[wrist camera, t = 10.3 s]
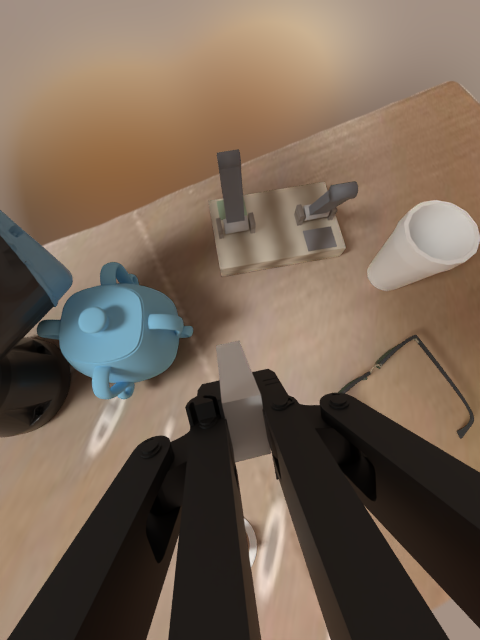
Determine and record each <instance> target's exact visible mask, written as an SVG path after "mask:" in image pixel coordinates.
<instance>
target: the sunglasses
mask: <svg viewBox="0 0 480 640" xmlns="http://www.w3.org/2000/svg"><path fill="white" fill-rule="evenodd" d="M415 338H416V339H415ZM411 340H414V341H415V340H416V342H417V343H418V344H419V345H420V347H421V348H422V349H423V350H424V352H425V353H426V354H427V355H428V356H429V358H430V359H431V360H432V362H433V363H434V364H435V365H436V367H437V368H438V369H439V370H440V372H441V373H442V374H443V376H444V377H445V378H446V379H447V381H448V382H449V383H450V385H451V386H452V387H453V389H454V390H455V391H456V393H457V394H458V395H459V397H460V398H461V400H462V401H463V403H464V404H465V406H466V407H467V409H468V411H469V413H470V421H469V423H468V424H467V425H466V426H465V427H464V428H462V429H460V430H458V431H457V433H458V435H459V437H460V439H461V438H463V436H464V435H465V433H466V432H467V431H468V429H469V428H470V427H471V426H472V424H473V422H474V416H473V413H472V411H471V409H470V407H469V405H468V403H467V402H466V400H465V399H464V397H463V396H462V394H461V393H460V391H459V390H458V389H457V387H456V386H455V385H454V383H453V382H452V380H451V379H450V378H449V376H448V375H447V374H446V372H445V371H444V370H443V368H442V367H441V366H440V364H439V363H438V362H437V361H436V359H435V358H434V357H433V355H432V354H431V353H430V352H429V350H428V349H427V348H426V346H425V345H424V344H423V343H422V341H421V340H420V339H419V338H418V336H417V335H413V336H411V337H409V338H408V339H406V340H405V341H403V342H402V343H401V344H399V345H397V346H395V347H394V348H392V349H391V350H389V351H388V352H387V353H385V354H384V355H383V356H382V357H381V358H379V360H378V361H376V363H375V365H376V367H377V368H379V369H380V367H379V366H381V367H382V365H383V364H384V363H385V362H386V361H387V360H388V359H389V358H390V357H391V356H392V355H393V354H394V353H395V352H396V351H397V350H398V349H399V348H401V347H402V346H403V345H405V344H406V343H408V342H409V341H411ZM374 367H375V366H374ZM374 367H373V368H374ZM373 368H372V369H371V370H370V372H367V373H365V374H364V375H363V376H361V377H359V378H357V379H355V380H353V381H352V382H350V383H348V384H347V385H346V386H345V387H343V388H342V389H341V390H340V391H339V392H338V393H344V394H345V393H346V392H347V391H348V390H349V389H350V388H352V387H353V386H354V385H355V384H357V383H358V382H360V381H361V380H367V376H369V375H370V373H371V372H372V370H373Z"/></svg>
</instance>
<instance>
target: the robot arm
mask: <svg viewBox="0 0 480 640" xmlns="http://www.w3.org/2000/svg"><path fill="white" fill-rule="evenodd" d="M72 282H73V280H72V275H71V273H70V271H69V270H68V269H67V268H66V267H65V266H64V265H63V264H62V263H61V262H59V261H58V260H57V259H56V258H55V257H54V256H53V255H52V254H50V253H49V252H48V251H47V250H46V249H45V248H44V247H42V246H41V245H40V244H39V243H38V242H36V241H35V240H34V239H33V238H32V237H31V236H29V235H28V234H27V233H26V232H25V231H24V230H22V229H21V228H20V227H19V226H18V225H17V224H16V223H14V222H13V221H12V220H11V219H10V218H9V217H8V216H7V215H6V214H4V213H3V212H2V211H1V210H0V437H10V436H15V435H20V434H24V433H28V432H31V431H33V430H35V429H37V428H39V427H41V426H42V425H44V424H45V423H47V422H48V421H49V420H50V419H51V418H52V417H53V416H54V415H55V414H56V413H57V412H58V410H59V409H60V407H61V406H62V404H63V402H64V400H65V398H66V396H67V393H68V390H69V385H70V369H69V365H68V362H67V360H66V358H65V357H64V355H63V354H62V352H61V350H60V349H59V348H57V347H56V346H55V345H53V344H51V343H49V342H47V341H43V340H39V339H34V338H23V337H24V336H25V335H26V334H27V333H28V332H29V331H30V330H31V329H32V328H33V327H34V326H35V325H36V324H37V323H38V322H39V321H40V320H41V319H42V318H43V317H44V316H45V315H46V314H47V313H48V312H49V311H50V310H51V309H52V308H53V307H56V306H57V304H58V301H59V300H60V299H61V297H62V296H63V295H64V294H65V293H66V292H67V291H68V289H69V288H70V287H71V285H72ZM216 349H217V359H218V369H219V381H215V382H211V383H206V384H202V385H201V387H200V388H199V389H198V394H197V396H196V397H195V398H193V399H191V400H190V401H189V402H188V403H187V405H186V407H185V408H186V412H187V416H188V419H189V423H190V431H189V432H188V433H187V434H185V435H184V436H182V437H180V438H178V439H176V440H174V441H172V442H170V440H169V438H167V437H166V436H155V437H151V438H149V439H147V440H145V441H144V442H142V443H141V444H139V445H138V446H137V447H136V449H135V450H134V451H133V452H132V454H131V455H130V457H129V458H128V460H127V461H126V463H125V464H124V466H123V467H122V469H121V470H120V472H119V473H118V475H117V476H116V478H115V479H114V481H113V482H112V484H111V485H110V487H109V488H108V490H107V491H106V493H105V494H104V496H103V497H102V499H101V500H100V502H99V503H98V505H97V506H96V508H95V509H94V511H93V512H92V514H91V515H90V517H89V518H88V520H87V521H86V522H85V524H84V525H83V527H82V528H81V530H80V531H79V533H78V534H77V536H76V537H75V539H74V540H73V542H72V543H71V545H70V546H69V548H68V549H67V551H66V552H65V554H64V555H63V557H62V558H61V560H60V561H59V563H58V564H57V566H56V567H55V569H54V570H53V572H52V573H51V575H50V576H49V578H48V579H47V581H46V582H45V584H44V585H43V587H42V588H41V590H40V591H39V593H38V594H37V596H36V597H35V599H34V600H33V602H32V603H31V605H30V606H29V608H28V609H27V611H26V612H25V614H24V615H23V617H22V618H21V620H20V621H19V623H18V624H17V626H16V627H15V629H14V630H13V632H12V633H11V635H10V636H9V638H8V639H7V640H146V638H147V635H148V632H149V629H150V626H151V622H152V619H153V616H154V613H155V610H156V606H157V603H158V600H159V597H160V593H161V590H162V587H163V584H164V581H165V577H166V574H167V571H168V568H169V565H170V561H171V558H172V555H173V552H174V548H175V545H176V542H177V539H178V536H179V542H178V551H177V561H176V571H175V580H174V590H173V600H172V609H171V619H170V629H169V638H168V640H261V635H260V628H259V621H258V614H257V607H256V600H255V593H254V586H253V579H252V572H251V565H250V558H249V551H248V544H247V537H246V530H245V523H244V516H243V509H242V502H241V495H240V488H239V481H238V474H237V469H236V465H235V462H239V461H243V460H247V459H251V458H255V457H258V456H262V455H266V454H270V453H271V451H272V456H273V461H274V467H275V473H276V478H277V479H279V481H280V484H281V487H282V490H283V493H284V497H285V500H286V503H287V506H288V509H289V512H290V515H291V518H292V521H293V524H294V527H295V531H296V534H297V537H298V540H299V543H300V546H301V549H302V552H303V555H304V558H305V562H306V565H307V568H308V571H309V574H310V577H311V580H312V583H313V586H314V589H315V592H316V596H317V599H318V602H319V605H320V608H321V611H322V614H323V617H324V620H325V623H326V627H327V630H328V633H329V636H330V639H331V640H449V638H448V637H447V635H446V633H445V632H444V630H443V629H442V627H441V626H440V624H439V622H438V621H437V619H436V618H435V616H434V615H433V613H432V611H431V610H430V608H429V607H428V605H427V604H426V602H425V601H424V599H423V597H422V596H421V594H420V593H419V591H418V590H417V588H416V586H415V585H414V583H413V582H412V580H411V579H410V577H409V575H408V574H407V572H406V571H405V569H404V568H403V566H402V564H401V563H400V561H399V560H398V558H397V557H396V555H395V553H394V552H393V550H392V549H391V547H390V546H389V544H388V542H387V541H386V539H385V538H384V536H383V535H382V533H381V531H380V530H379V528H378V527H377V525H376V524H375V522H374V521H373V519H372V517H371V516H370V514H369V513H368V511H367V510H366V508H367V509H368V510H369V511H370V512H371V513H372V514H373V515H374V516H375V517H376V518H377V519H378V521H379V522H380V523H381V524H382V525H383V526H384V527H385V528H386V529H387V530H388V531H389V532H390V533H391V534H392V535H393V537H394V538H395V539H396V540H397V541H398V542H399V543H400V544H401V545H402V546H403V547H404V548H405V549H406V550H407V551H408V553H409V554H410V555H411V556H412V557H413V558H414V559H415V560H416V561H417V562H418V563H419V564H420V565H421V566H422V567H423V568H424V570H425V571H426V572H427V573H428V574H429V575H430V576H431V577H432V578H433V579H434V580H435V581H436V582H437V583H438V584H439V586H440V587H441V588H442V589H443V590H444V591H445V592H446V593H447V594H448V595H449V596H450V597H451V598H452V599H453V600H454V602H455V603H456V604H457V605H458V606H459V607H460V608H461V609H462V610H463V611H464V612H465V613H466V614H467V615H468V616H469V618H470V619H471V620H472V621H473V622H474V623H475V624H476V625H477V626H478V627H479V628H480V472H478V471H476V470H475V469H473V468H471V467H469V466H468V465H466V464H464V463H463V462H461V461H459V460H458V459H456V458H454V457H453V456H451V455H449V454H448V453H446V452H444V451H443V450H441V449H439V448H438V447H436V446H434V445H433V444H431V443H429V442H428V441H426V440H424V439H423V438H421V437H419V436H418V435H416V434H414V433H413V432H411V431H409V430H408V429H406V428H404V427H403V426H401V425H399V424H398V423H396V422H394V421H393V420H391V419H389V418H388V417H386V416H384V415H382V414H381V413H379V412H377V411H376V410H374V409H372V408H371V407H369V406H367V405H366V404H364V403H362V402H361V401H359V400H357V399H356V398H354V397H352V396H350V395H348V394H344V393H330V394H326V395H325V396H323V397H322V398H321V400H320V405H301V404H299V403H298V401H297V400H296V399H295V398H294V397H291V396H289V395H288V394H287V392H286V391H285V389H284V387H283V386H282V384H281V382H280V381H279V379H278V378H277V376H276V374H275V372H273V371H271V370H269V369H265V370H260V371H256V372H252V371H251V369H250V366H249V364H248V361H247V359H246V356H245V354H244V351H243V349H242V346H241V344H240V341H235V342H230V343H225V344H221V345H216ZM270 448H271V450H270ZM365 507H366V508H365Z"/></svg>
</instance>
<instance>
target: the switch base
mask: <svg viewBox="0 0 480 640" xmlns="http://www.w3.org/2000/svg"><path fill="white" fill-rule="evenodd" d="M327 191H328V190H327V187H326V184H325V182H319V183H313V184H307V185H301V186H295V187H289V188H283V189H277V190H271V191H265V192H259V193H253V194H247V195H243V203H244V216H245V215H247V219H248V226H249V230H247V231H241V232H235V233H229V234H225V229H224V223H223V219H226V216H225V208H224V201H223V198H222V199H216V200H210V201H208V203H209V209H210V214H211V220H212V226H213V232H214V237H215V243H216V249H217V255H218V260H219V266H220V271H221V276H222V277H224V276H230V275H235V274H241V273H247V272H253V271H258V270H264V269H270V268H276V267H281V266H287V265H293V264H299V263H304V262H310V261H316V260H322V259H327V258H333V257H339V256H340V255H341V254H342V252H343V251H344V250H345V248H346V246H345V243H344V240H343V237H342V234H341V231H340V228H339V224H338V221H337V218H336V215H335V214H336V212H337V208H336V207H335V208H334V209H332V210H330V213H329V216H328V217H323V218H317V219H312V220H306V221H304V217H305V215H304V211H303V206H305V205H311V204H313V203H314V202H315V201H316V200H317V199H319V198H320V197H321V196H322V195H324V194H325V193H326V192H327Z"/></svg>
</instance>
